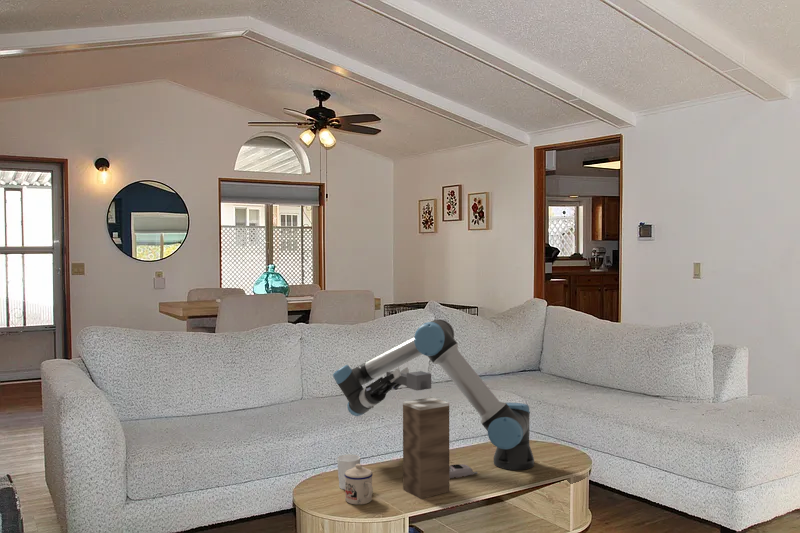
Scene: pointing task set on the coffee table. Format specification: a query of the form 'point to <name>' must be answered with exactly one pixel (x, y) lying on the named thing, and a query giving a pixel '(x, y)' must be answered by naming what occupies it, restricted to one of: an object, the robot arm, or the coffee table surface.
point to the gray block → (414, 380)
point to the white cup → (346, 467)
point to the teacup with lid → (358, 485)
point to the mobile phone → (460, 470)
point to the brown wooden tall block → (426, 447)
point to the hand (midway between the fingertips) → (403, 371)
